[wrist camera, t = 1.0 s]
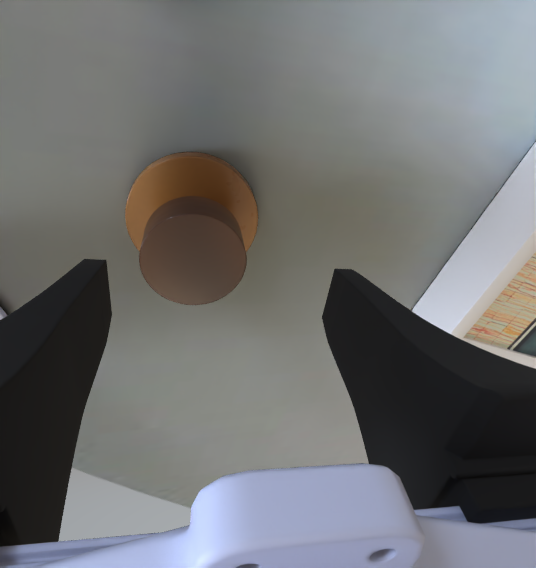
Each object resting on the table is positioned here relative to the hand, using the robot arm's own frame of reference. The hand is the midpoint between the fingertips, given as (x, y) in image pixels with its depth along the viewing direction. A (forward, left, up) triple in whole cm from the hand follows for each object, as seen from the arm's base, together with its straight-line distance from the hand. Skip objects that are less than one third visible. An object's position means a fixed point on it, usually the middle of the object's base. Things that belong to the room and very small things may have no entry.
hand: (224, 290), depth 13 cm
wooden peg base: (-1, -1, -10) cm, 10 cm away
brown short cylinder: (-2, -1, -7) cm, 7 cm away
